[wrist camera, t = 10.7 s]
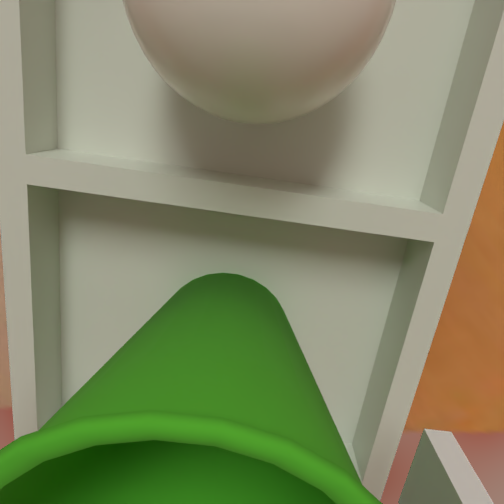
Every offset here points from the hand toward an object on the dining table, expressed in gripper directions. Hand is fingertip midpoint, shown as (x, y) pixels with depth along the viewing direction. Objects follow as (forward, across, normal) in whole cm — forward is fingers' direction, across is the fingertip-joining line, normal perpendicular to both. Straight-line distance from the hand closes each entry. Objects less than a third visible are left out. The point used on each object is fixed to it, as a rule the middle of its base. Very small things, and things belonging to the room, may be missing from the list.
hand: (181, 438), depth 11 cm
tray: (+8, 0, +6) cm, 10 cm away
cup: (+7, +1, 0) cm, 7 cm away
